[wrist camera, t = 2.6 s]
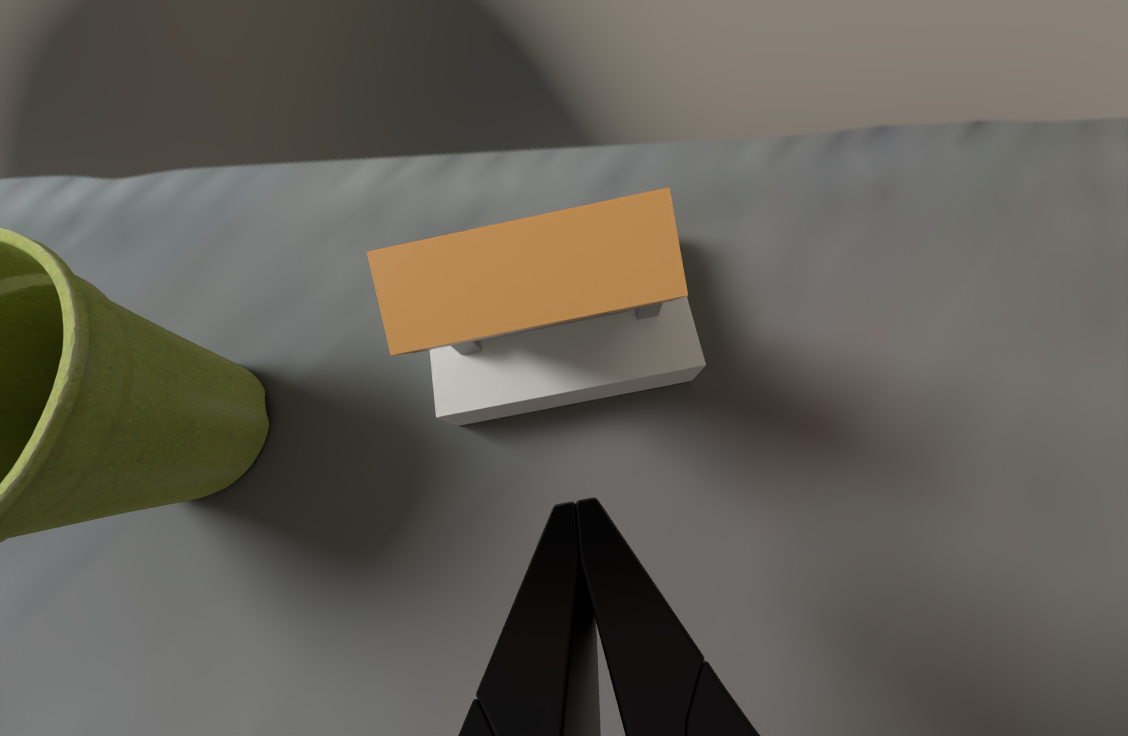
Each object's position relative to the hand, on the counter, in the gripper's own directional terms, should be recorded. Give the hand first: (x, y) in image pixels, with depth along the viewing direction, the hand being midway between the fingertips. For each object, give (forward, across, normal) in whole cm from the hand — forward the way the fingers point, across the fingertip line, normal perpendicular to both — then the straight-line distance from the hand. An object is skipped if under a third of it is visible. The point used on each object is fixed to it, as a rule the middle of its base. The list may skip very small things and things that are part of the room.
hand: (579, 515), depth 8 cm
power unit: (+11, 0, +1) cm, 11 cm away
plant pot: (+10, +16, +2) cm, 20 cm away
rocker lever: (+8, 0, -1) cm, 9 cm away
